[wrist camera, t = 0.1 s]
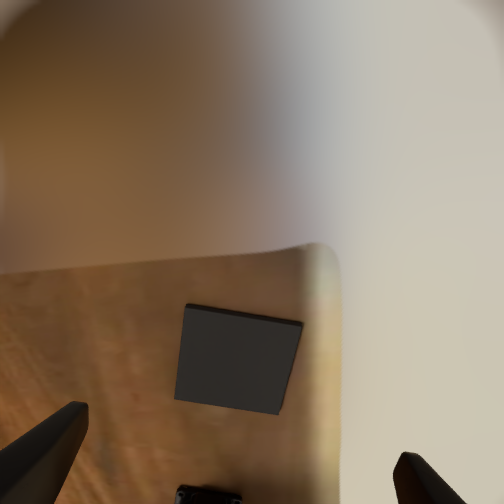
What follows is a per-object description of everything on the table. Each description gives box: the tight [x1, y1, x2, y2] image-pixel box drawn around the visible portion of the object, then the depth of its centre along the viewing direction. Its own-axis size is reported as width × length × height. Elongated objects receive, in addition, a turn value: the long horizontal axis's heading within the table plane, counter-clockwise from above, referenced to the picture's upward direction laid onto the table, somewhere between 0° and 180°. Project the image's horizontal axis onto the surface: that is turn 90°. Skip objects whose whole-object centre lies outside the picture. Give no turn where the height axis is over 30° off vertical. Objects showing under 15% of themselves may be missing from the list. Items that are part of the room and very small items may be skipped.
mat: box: [174, 304, 302, 415], centre depth 26 cm, size 9×9×1 cm
